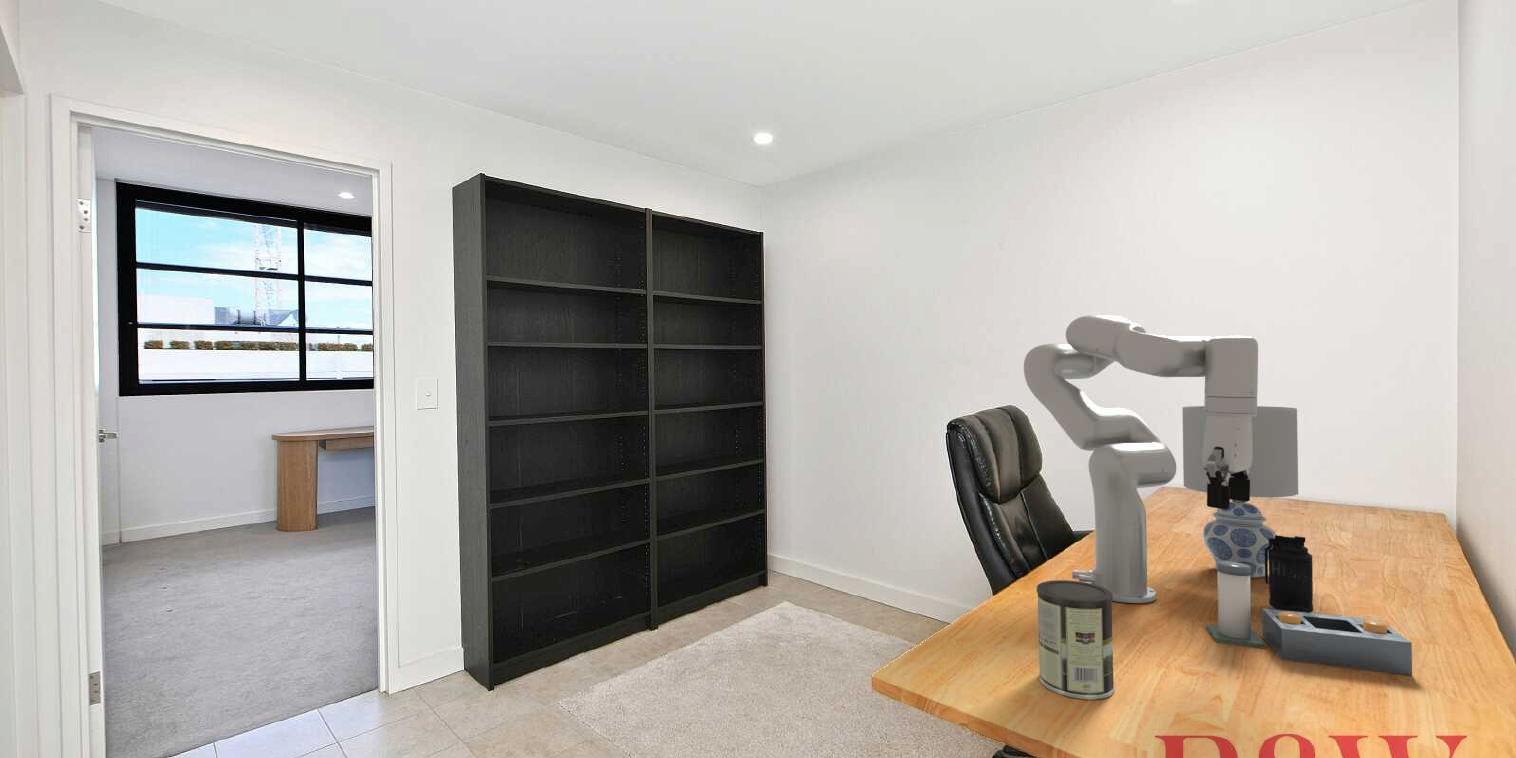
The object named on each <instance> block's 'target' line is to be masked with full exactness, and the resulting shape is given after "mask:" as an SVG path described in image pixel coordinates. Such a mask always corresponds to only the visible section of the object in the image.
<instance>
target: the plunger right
mask: <svg viewBox="0 0 1516 758" xmlns="http://www.w3.org/2000/svg"><path fill="white" fill-rule="evenodd" d="M1384 623H1385V622H1383V623H1381V622H1378V621H1372V620H1364V621H1363V629H1364V630H1365V631H1370V632H1379V633H1387V625H1388V624H1386V623H1385V624H1384Z"/></svg>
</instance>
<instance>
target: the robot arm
mask: <svg viewBox="0 0 1516 758" xmlns="http://www.w3.org/2000/svg"><path fill="white" fill-rule="evenodd" d="M1065 339H1066V342H1067V343H1045V344H1041V345H1037V346H1035V347H1033V348H1031V349H1030V350H1029V351H1028V352H1027V354H1026V355H1025V358H1024V362H1023V373H1024V379H1025V382H1026V385H1027V386H1028V389H1029V391H1030V392H1031V393H1032V395H1033V396H1034V397H1035V399H1037V400H1038V401H1039V402H1040V404H1042V405H1043V406H1044V408H1045V409H1046V410H1047V411H1048V412H1049V413H1050V414H1051V416H1052V417H1053V419H1054V420H1055V422H1057V423H1058V425H1059V426H1060V428H1062V430H1063V431H1064V432H1065V434H1066V435H1067V436H1068V438H1069V439H1070V440H1071V441H1072V443H1074V445H1075V446H1076V447H1078V449H1081V450H1083V451H1087V452H1092V453H1091V454H1090V456H1089V460H1088V473H1089V476H1090V478H1089V479H1090V482H1091V485H1092V493H1093V501H1094V502H1093V503H1094V504H1093V505H1094V506H1093V507H1094V538H1095V541H1094V543H1095V544H1094V547H1095V551H1094V552H1095V566H1092V569H1088V571H1086V570H1083V571H1082V570H1080V569H1072V570H1071V578H1072V579H1073V580H1078V582H1085V583H1090V584H1094V585H1097V586H1100V587H1103V588H1105V589H1107V590H1109V591H1110V592H1111V593H1112V595H1113V600H1112V602H1118V603H1127V604H1144V603H1145V604H1146V603H1152V602H1154V601H1155V600H1156V599H1157V592H1156V591H1155V590H1154V589H1153V588H1151V587H1149V586H1148V553H1147V552H1148V551H1147V550H1148V549H1147V548H1148V547H1147V545H1148V544H1147V510H1146V506H1145V504H1144V502H1143V500H1142V498H1141V496H1140V494H1139V492H1138V489H1141V488H1142V489H1143V488H1155V487H1160V486H1165V485H1167V484H1169V483H1170V482H1171V481H1172V480H1173V479H1174V478H1175V476H1176V473H1177V462H1176V459H1175V457H1174V454H1173V453H1172V451H1171V450H1170V448H1169V447H1168V446H1167V445H1166V444H1165V443H1164V442H1163V440H1162V439H1161V438H1160V437H1159V436H1158V435H1157V434H1156V433H1155V432H1154V431H1153V430H1152V429H1151V427H1150V426H1149V425H1148V424H1147V423H1146V421H1144V419H1142V418H1141V417H1140V416H1139V415H1138V414H1137V413H1136V412H1134V411H1132V410H1130V409H1126V408H1123V407H1100V406H1098V405H1096V404H1095V403H1094V402H1093V401H1091V400H1090V398H1089V397H1088V396H1087V395H1086V394H1085V392H1084V391H1082V390H1081V389H1080V388H1079V387H1078V386H1076V385H1074V384H1072V383H1071V382H1069V381H1067V380H1083V379H1089V378H1093V377H1095V376H1097V375H1098V374H1099V373H1101V372H1102V371H1104V370H1105V369H1106V368H1107V367H1109V366H1110V365H1112V364H1113V363H1115V362H1117V363H1118V364H1120V365H1121V366H1122V367H1123V368H1125V369H1128V370H1129V371H1133V372H1138V373H1140V374H1141V373H1142V374H1146V375H1148V376H1154V377H1157V378H1158V377H1159V378H1204V405H1203V406H1204V414H1205V415H1207V418H1206V423H1205V429H1204V439H1203V452H1202V468H1203V469H1204V470H1205V471H1207V473H1206V475H1207V476H1208V477H1207V492H1206V505H1207V507H1208V508H1213V509H1218V508H1219V509H1225V510H1227V509H1229V508H1230V502H1231V501H1232V500H1237V501H1244V502H1246V503H1249V501H1251V497H1250V476H1251V474H1250V471H1249V468H1250V467H1251V465H1252V456H1253V438H1252V420H1251V417H1255V416H1257V406H1258V387H1259V386H1258V383H1259V381H1258V380H1259V374H1258V373H1259V372H1258V371H1259V343H1258V341H1257V339H1256V338H1254V337H1252V336H1246V335H1243V336H1242V335H1233V336H1232V335H1229V336H1227V335H1226V336H1215V337H1211V336H1185V335H1184V336H1180V335H1178V336H1177V335H1176V336H1174V335H1173V336H1172V335H1171V336H1169V335H1168V336H1166V335H1157V334H1151V333H1147V331H1146V329H1145V328H1144V327H1143V326H1142V325H1140V324H1139V323H1136V322H1131V321H1130V320H1128V318H1126V317H1122V316H1117V315H1084V316H1079V317H1077V318H1076V319H1074V320H1072V321H1071V322H1070V323H1069V325H1068V326H1067V327H1066V330H1065ZM1221 474H1224V475H1223V477H1222V475H1221ZM1230 475H1231V477H1230ZM1227 484H1228V486H1227Z"/></svg>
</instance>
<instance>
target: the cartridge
mask: <svg viewBox="0 0 1516 758" xmlns="http://www.w3.org/2000/svg"><path fill="white" fill-rule="evenodd" d="M1216 571H1217V617H1218V619H1217V624H1218V625H1217V626H1218V632H1219V633H1221V634H1223V635H1225V636H1228V637H1232V638H1238V639H1248V638H1250V637H1251V628H1252V626H1251V625H1252V623H1251V622H1252V621H1251V615H1252V614H1251V613H1252V611H1251V577H1250V575H1251V567H1250V566H1249V565H1246V564H1242V563H1237V562H1229V561H1220V562H1217V570H1216Z"/></svg>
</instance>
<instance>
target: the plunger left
mask: <svg viewBox="0 0 1516 758" xmlns="http://www.w3.org/2000/svg"><path fill="white" fill-rule="evenodd" d="M1279 621H1280V622H1285V623H1294V624H1301V616H1300V615H1298V614H1295V613H1290V612H1279Z"/></svg>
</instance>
